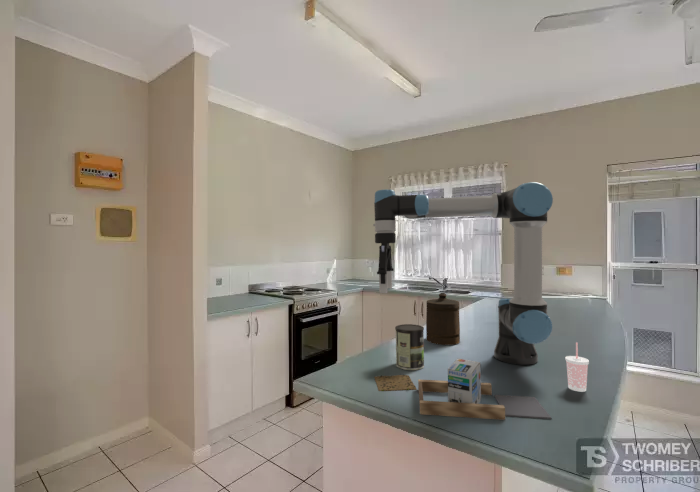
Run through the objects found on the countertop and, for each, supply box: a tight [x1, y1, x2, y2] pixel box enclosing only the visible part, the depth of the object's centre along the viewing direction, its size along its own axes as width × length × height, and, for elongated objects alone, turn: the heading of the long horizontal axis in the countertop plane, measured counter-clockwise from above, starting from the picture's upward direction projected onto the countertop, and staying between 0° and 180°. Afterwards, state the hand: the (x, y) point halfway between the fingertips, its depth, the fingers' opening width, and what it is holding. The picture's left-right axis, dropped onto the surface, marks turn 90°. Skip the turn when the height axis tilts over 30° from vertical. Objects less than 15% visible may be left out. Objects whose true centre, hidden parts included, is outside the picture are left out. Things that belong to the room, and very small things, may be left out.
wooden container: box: [425, 292, 461, 346], centre depth 160 cm, size 15×15×22 cm
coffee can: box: [395, 323, 425, 371], centre depth 128 cm, size 10×10×14 cm
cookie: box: [373, 374, 418, 392], centre depth 112 cm, size 12×12×1 cm
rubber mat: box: [493, 394, 552, 420], centre depth 95 cm, size 11×12×1 cm
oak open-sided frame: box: [417, 378, 506, 421], centre depth 98 cm, size 21×16×3 cm
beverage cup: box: [565, 341, 590, 393], centre depth 106 cm, size 6×6×14 cm
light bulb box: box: [447, 358, 482, 404], centre depth 97 cm, size 11×7×11 cm, turn 148°
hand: (386, 290), depth 128 cm, fingers open, 13 cm apart
